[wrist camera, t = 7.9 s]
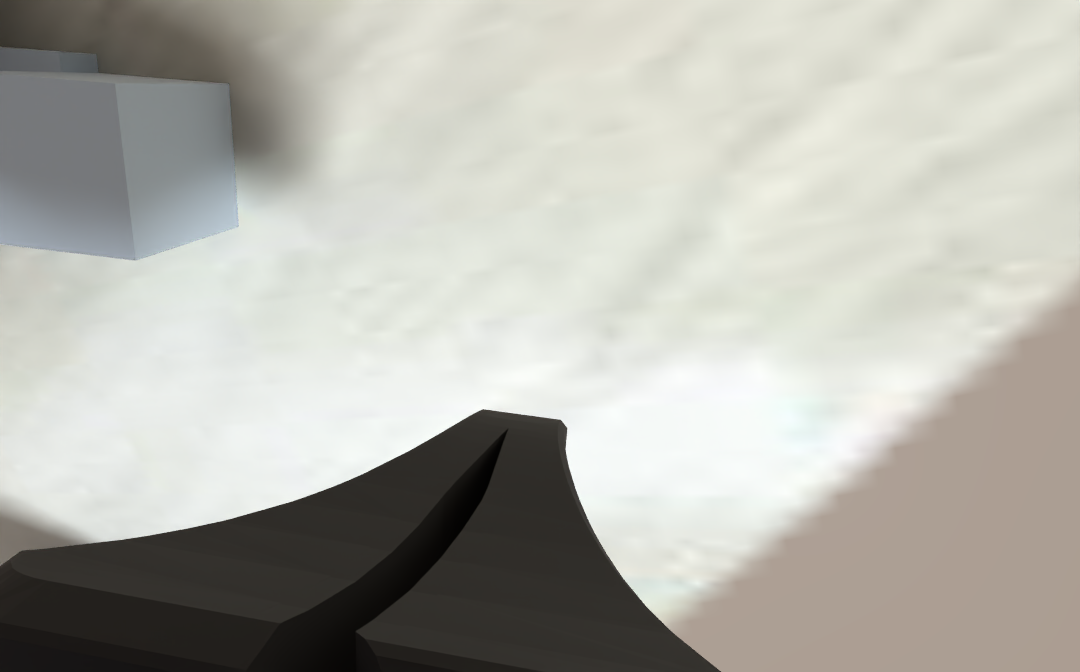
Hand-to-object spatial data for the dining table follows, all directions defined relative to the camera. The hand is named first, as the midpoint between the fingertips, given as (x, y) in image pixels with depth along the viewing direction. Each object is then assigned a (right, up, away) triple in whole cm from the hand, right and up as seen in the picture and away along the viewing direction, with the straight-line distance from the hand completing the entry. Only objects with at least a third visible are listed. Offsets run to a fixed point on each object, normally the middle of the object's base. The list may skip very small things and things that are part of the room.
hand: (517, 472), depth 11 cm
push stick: (-16, +8, +11) cm, 21 cm away
